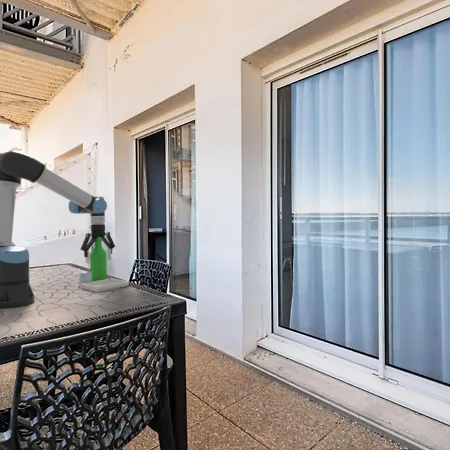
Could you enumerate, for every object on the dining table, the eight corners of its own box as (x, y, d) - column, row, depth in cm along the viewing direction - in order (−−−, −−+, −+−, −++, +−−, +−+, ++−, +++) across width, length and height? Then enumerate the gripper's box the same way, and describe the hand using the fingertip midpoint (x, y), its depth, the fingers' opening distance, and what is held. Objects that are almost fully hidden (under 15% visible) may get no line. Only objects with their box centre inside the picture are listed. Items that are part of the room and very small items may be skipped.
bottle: (103, 282, 179) (102, 237, 178) (87, 282, 179) (87, 237, 179) (109, 279, 188) (108, 236, 187) (94, 279, 188) (93, 236, 188)
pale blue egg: (83, 287, 167) (83, 273, 166) (77, 285, 170) (76, 272, 170) (94, 285, 171) (93, 272, 171) (87, 284, 175) (87, 271, 175)
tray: (97, 292, 155) (97, 287, 155) (80, 288, 164) (80, 283, 164) (128, 285, 169) (128, 281, 169) (111, 282, 178) (111, 278, 178)
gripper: (80, 224, 171) (81, 264, 171) (120, 223, 191) (121, 259, 191) (73, 224, 175) (74, 263, 176) (113, 223, 195) (113, 258, 196)
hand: (98, 261), depth 184 cm, fingers open, 13 cm apart
